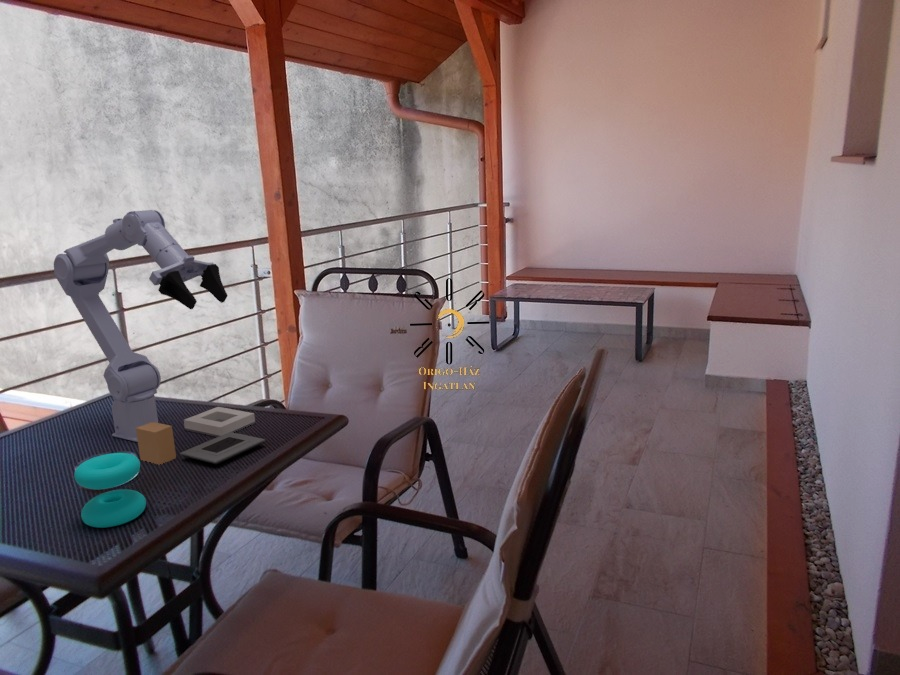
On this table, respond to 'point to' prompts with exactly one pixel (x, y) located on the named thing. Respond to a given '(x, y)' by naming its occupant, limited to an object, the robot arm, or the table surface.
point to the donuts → (114, 503)
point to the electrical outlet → (222, 447)
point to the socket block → (219, 421)
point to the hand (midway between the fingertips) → (209, 302)
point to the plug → (156, 443)
